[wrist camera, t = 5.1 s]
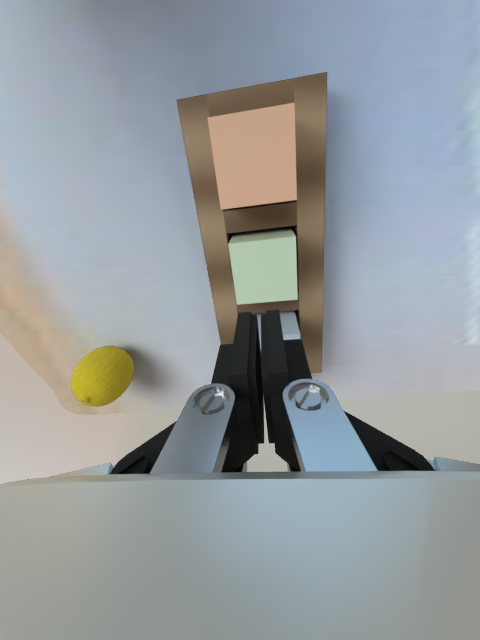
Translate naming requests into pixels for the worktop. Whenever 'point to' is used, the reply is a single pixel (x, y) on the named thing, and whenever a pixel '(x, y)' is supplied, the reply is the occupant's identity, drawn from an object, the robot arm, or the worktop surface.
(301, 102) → the button board
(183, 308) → the worktop surface
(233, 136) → the button terracotta
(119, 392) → the lemon
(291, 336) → the button slate
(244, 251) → the button sage
